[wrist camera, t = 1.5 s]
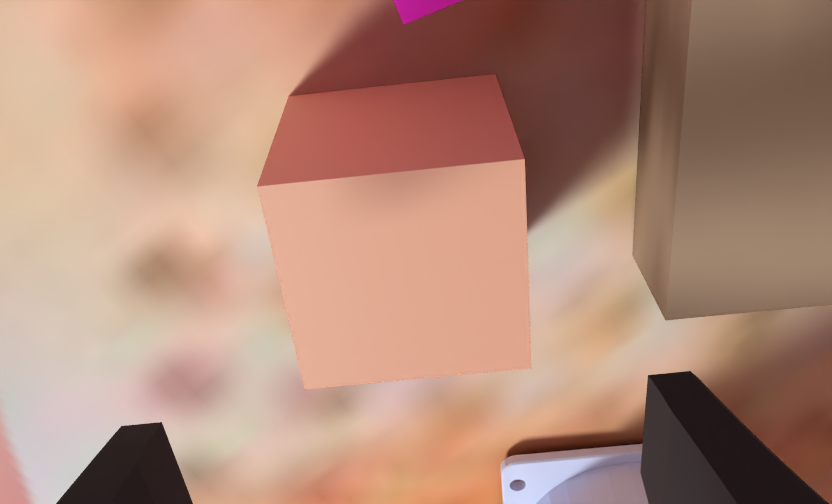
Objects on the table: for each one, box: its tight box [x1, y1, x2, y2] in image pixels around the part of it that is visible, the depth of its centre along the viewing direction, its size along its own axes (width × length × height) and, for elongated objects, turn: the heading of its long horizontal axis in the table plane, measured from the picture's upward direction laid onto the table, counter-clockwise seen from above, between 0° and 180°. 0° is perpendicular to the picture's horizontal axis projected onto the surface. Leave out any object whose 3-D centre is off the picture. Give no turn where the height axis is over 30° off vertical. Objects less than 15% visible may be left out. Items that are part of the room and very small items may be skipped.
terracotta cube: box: [257, 74, 531, 389], centre depth 18 cm, size 5×5×5 cm
